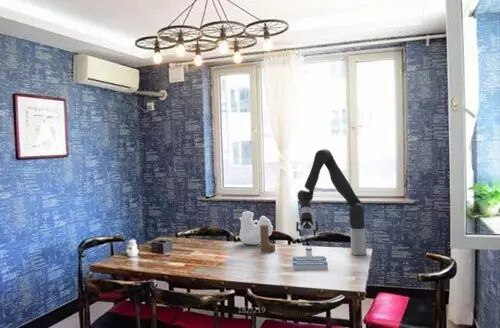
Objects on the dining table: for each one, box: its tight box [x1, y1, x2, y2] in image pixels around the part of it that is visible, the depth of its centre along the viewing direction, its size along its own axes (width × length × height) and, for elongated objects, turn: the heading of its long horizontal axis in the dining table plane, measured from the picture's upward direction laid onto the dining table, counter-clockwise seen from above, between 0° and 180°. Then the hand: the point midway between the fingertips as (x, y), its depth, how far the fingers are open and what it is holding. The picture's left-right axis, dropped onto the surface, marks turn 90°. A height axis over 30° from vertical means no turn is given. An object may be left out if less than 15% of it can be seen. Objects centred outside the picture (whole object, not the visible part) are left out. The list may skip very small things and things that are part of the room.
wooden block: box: [260, 225, 276, 253], centre depth 287 cm, size 9×4×18 cm, turn 66°
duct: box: [292, 255, 329, 271], centre depth 253 cm, size 20×20×4 cm
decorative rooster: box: [238, 210, 274, 246], centre depth 308 cm, size 25×16×25 cm, turn 67°
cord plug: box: [305, 246, 313, 259], centre depth 257 cm, size 4×4×9 cm
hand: (307, 236), depth 267 cm, fingers open, 8 cm apart
